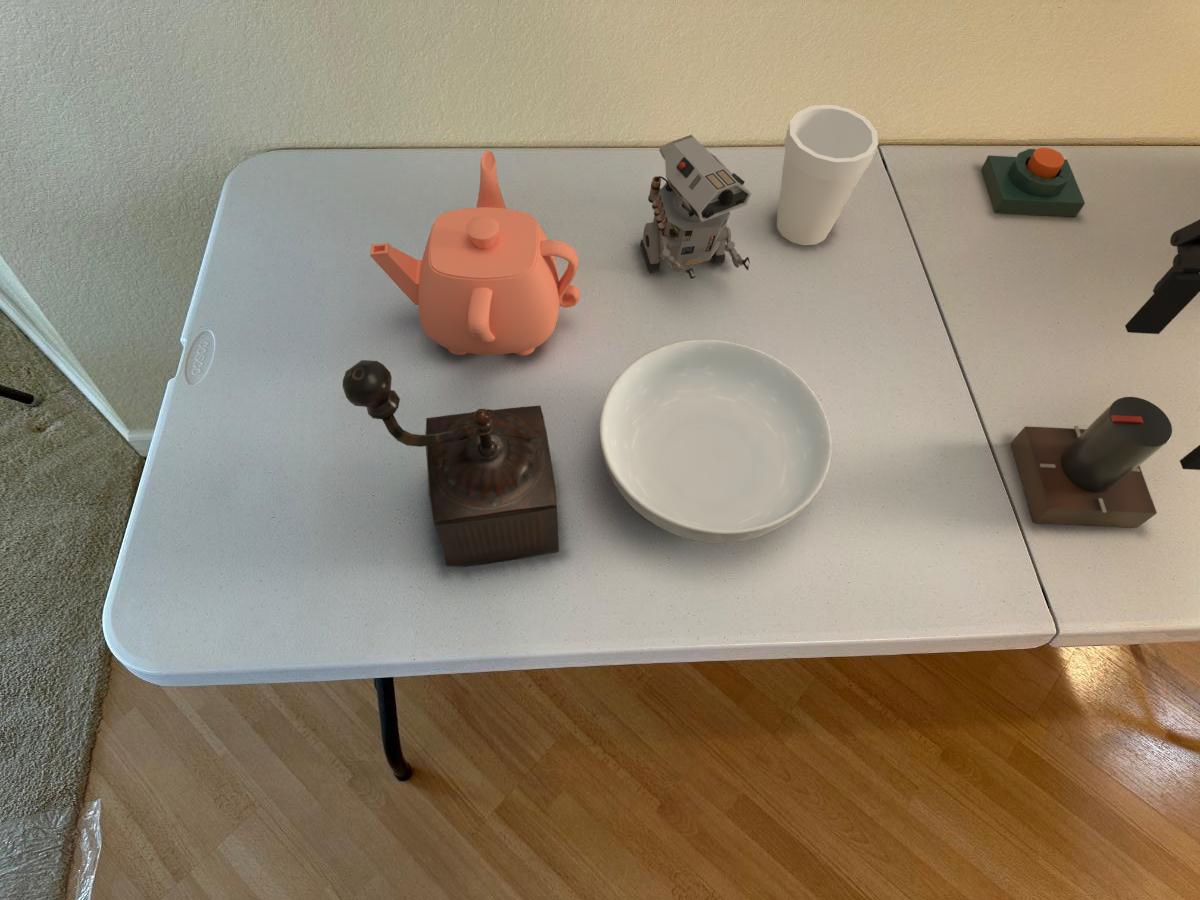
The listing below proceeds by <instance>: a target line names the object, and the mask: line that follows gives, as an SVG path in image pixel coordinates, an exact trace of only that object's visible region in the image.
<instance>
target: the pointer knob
mask: <svg viewBox="0 0 1200 900" xmlns="http://www.w3.org/2000/svg"><path fill="white" fill-rule="evenodd" d="M1085 429H1086V430H1085V431H1084V432H1083V433H1082V434H1081V435H1080V436H1079V437H1078V438H1077V439H1076V440H1075V441H1074V442H1073V443H1072V444H1071V445H1070V446H1069V447H1068V448H1067V449H1066V450H1065V451H1064V453H1063V455H1062V467H1063V469H1064V471H1065V473H1066V475H1067V476H1068V477H1069V478H1070V479H1071V480H1072V481H1073V482H1074V483H1075V484H1077V485H1078V486H1080V487H1082V488H1084V489H1086V490H1089V491H1093V492H1105V491H1108V490H1110V489H1112V488H1113V487H1115V486H1116V485H1117V484H1118V483H1119V482H1121V481H1122V480H1123V479H1124V478H1125V477H1127V476H1128V475H1129V474H1130V473H1131V472H1132V471H1134V470H1135V469H1136V468H1137V467H1138V466H1140V467H1141V465H1142V464H1143V463H1145V462H1146V461H1147V460H1148V459H1149V458H1151V457H1152V456H1153V455H1154V454H1155V453H1156V452H1158V451H1159V450H1160V449H1161V448H1162V447H1163V446H1165V445H1166V444H1168V443H1169V441H1170V440H1171V438H1172V436H1173V425H1172V422H1171V420H1170V419H1169V417H1168V416H1167V415H1166V413H1165V411H1163V409H1161V408H1160V407H1159V406H1157V405H1156V404H1155V403H1154V402H1151V401H1149V400H1147V399H1144V398H1142V397H1137V396H1123V397H1120V398H1117V399H1115V401H1113V402H1112V403H1111V404H1110V405H1109V406H1108V407H1107V408H1106V409H1105V410H1104V411H1103V412H1102V413H1101V414H1100V415H1099V416H1098V417H1097V418H1096V419H1095V420H1094V421H1093V422H1092V423H1091V424H1090V425H1089V426H1088V427H1087V428H1085Z"/></svg>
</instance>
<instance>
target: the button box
mask: <svg viewBox="0 0 1200 900" xmlns="http://www.w3.org/2000/svg"><path fill="white" fill-rule="evenodd" d="M1037 149H1038V148H1027V149H1025V150H1023V151H1020V152H1019V153H1018V154H1017V156H1007V155H991V154H989V155H987V157H986V158H985V161H984V163H983V164H982V166H981V169H980V171H981V174H982V178H983V180H984V184H985V187H986V190H987V193H988V196H989V200H990V202H991V206H992V208H993V211H994V213H995V214H1007V215H1028V216H1048V217H1051V216H1052V217H1065V218H1066V217H1068V218H1076V217H1077V216H1078V215H1079V213H1080V212H1081V211H1082V208H1083V207H1084V206H1085V204H1086V201H1085V200H1084V197H1083V194H1082V192H1081V190H1080V187H1079V185H1078V182H1077V180H1076V178H1075V175H1074V172H1073V170H1072V168H1071V166H1070V163H1069V161H1068V159H1065V158H1064V164H1063V165H1062V167H1061V168H1060V170H1059V172H1058V173H1057V175H1056V176H1055V177H1053V178H1042V177H1039V176H1036V175H1034V174H1033V173H1031V172H1030V171H1029V170H1028V169H1027V163H1028V161H1029V160H1030V158H1031V156H1032V154H1033V153H1034V151H1035V150H1037Z"/></svg>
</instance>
